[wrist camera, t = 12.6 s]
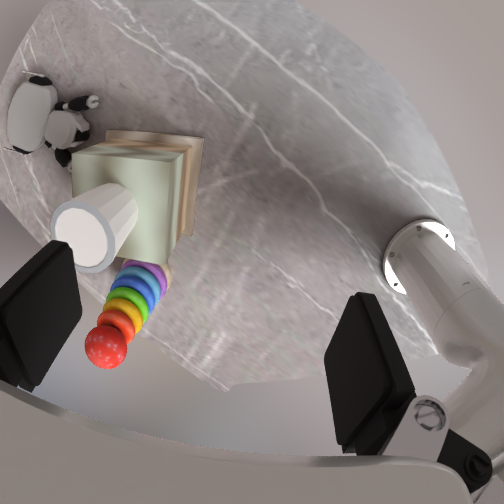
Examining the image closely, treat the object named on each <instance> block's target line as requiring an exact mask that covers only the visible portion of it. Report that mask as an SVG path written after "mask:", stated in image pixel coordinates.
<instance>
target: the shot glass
mask: <svg viewBox="0 0 504 504" xmlns="http://www.w3.org/2000/svg"><path fill="white" fill-rule="evenodd" d="M137 218H138V206H137V204H136V201H135V198H134V196H133V195H132V194H131V193H130V191H129V190H128V189H127V188H125V187H123V186H121V185H120V184H116V183H107V184H104V185H101V186H99V187H96V188H94V189H92V190H90V191H87V192H85V193H83V194H81V195H79V196H77V197H75V198H72V199H70V200H68V201H66V202H64V203H62V204H60V205H59V207H58V208H57V209H56V210H55V212H54V213H53V215H52V219H51V224H50V231H51V238H52V240H58V241H63V242H67V243H68V244H69V247H71V248H72V250H73V256H74V263H75V269H76V270H78V271H81V272H85V273H90V274H92V273H97V272H102V271H103V270H105V269H106V268H107V267H108V266H109V265H110V264H111V263H112V261H113V260H114V258H115V256H116V255H117V253H118V251H119V250H120V248H121V246H122V245H123V243H124V241H125V240H126V238H127V237H128V235H129V233H130V232H131V230H132V229H133V227H134V225H135V223H136V221H137Z"/></svg>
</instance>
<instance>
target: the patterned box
mask: <svg viewBox="0 0 504 504" xmlns="http://www.w3.org/2000/svg"><path fill="white" fill-rule="evenodd" d="M203 143H204V138H200V137H192V136H183V135H174V134H164V133H153V132H140V131H125V130H107V131H106V135H105V141H104V142H101V143H98V144H96V145H93V146H90V147H88V148H85V149H83V150H80V151H78V152H75V153H73V154H72V195H73V198H75V197H77V196H79V195H81V194H83V193H85V192H87V191H90V190H92V189H94V188H96V187H99V186H101V185H104V184H107V183H116V184H120V185H121V186H123V187H125V188H127V189H128V190H129V191H130V193H131V194H132V195H133V196H134V198H135V201H136V204H137V206H138V218H137V221H136V223H135V225H134V227H133V229H132V230H131V232H130V233H129V235H128V237H127V238H126V240H125V241H124V243H123V245H122V246H121V248H120V250H119V251H118V253H117V255H116V256H117V257H122V258H127V259H132V260H138V261H143V262H149V263H154V264H159V265H165V264H166V262H167V260H168V258H169V256H170V254H171V252H172V251H173V249H174V247H175V245H176V243H177V241H178V240H179V238H180V236H181V235H186V236H192V234H193V229H194V219H195V209H196V200H197V191H198V182H199V174H200V166H201V158H202V150H203Z"/></svg>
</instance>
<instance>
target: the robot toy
mask: <svg viewBox="0 0 504 504" xmlns="http://www.w3.org/2000/svg"><path fill="white" fill-rule="evenodd" d="M21 72H23V73H29V74H34V75H38V76H34V77H31V78H30V79H29V80H28V81H25V82H22V84H21V85H20V86H19V87H18V88H17V90H16V92H15V94H14V96H13V98H12V101H11V104H10V106H9V109H8V116H7V137H8V141H9V142H10V144H11V145H13V148H14V149H15V150H16V151H15V150H12V149H8V148H6V147H4V148H3V150H8V151H12V152H15V153H19V154H20V155H24V154H29V153H31V152H33V151H34V150H36V149H39V148H41V147H42V146H43V145H44V144H46V145H47V146H48V148H49V147H52V148H53V149H54V150H55V157H56V160H57V161H58V162H59V163H60V164H61V166H62V167H66V166H67V169H68V171H69V172H71V173H72V154H71V153H70V152H69V150H68V149H66V148H68V147H76V146H78V145H80V144H82V143H83V142H84V141H86V140H87V139H88V138H89V132H88V131H87V130H89V123H88V122H87V121H86V120H85V119H84V118H83V116H82V114H81V113H80V112H78V111H82V110H88V109H89V108H92V109H93V108H96V107H97V106H98V105H99V102H97V103H94V100H99V97H98V96H97V95H91V96H90V97H89V96H83V97H77V98H75V99H73V100H72V101H71V102H70V103H67V104H66V103H65V102H60V103H58V96H57V90H56V89H55V88H54V87H53V86H52V82H51V81H50V80H49V79H48V78H46V77H45V74H37V73H32V72H28V71H25V70H23V71H21ZM69 109H71V110H69Z"/></svg>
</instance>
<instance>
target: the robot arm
mask: <svg viewBox="0 0 504 504" xmlns="http://www.w3.org/2000/svg"><path fill="white" fill-rule="evenodd" d="M383 272H384V275H385V278H386V280H387V282H388V283H389V285H390V286H391V287H392V288H393V289H394V290H396V291H397V292H400V293H403V294H407V295H408V297H409V299H410V301H411V302H412V304H413V306H414V307H415V309H416V311H417V313H418V314H419V316H420V318H421V320H422V322H423V323H424V325H425V327H426V329H427V331H428V332H429V334H430V336H431V338H432V340H433V342H434V344H435V345H436V347H437V349H438V351H439V353H440V354H441V356H442V357H443V358H444V359H445V360H446V361H448V362H449V363H451V364H453V365H455V366H458V367H463V368H468V369H472V371H471V373H470V374H469V375H468V376H467V377H466V378H465V379H464V380H463V381H462V382H461V383H460V384H459V385H458V386H457V387H456V388H455V389H453V390H452V391H451V392H450V393H449V394H447V395H446V396H445V397H444V398H443V399H441V400H440V401H439V400H437V399H436V398H434V397H431V396H426V395H423V396H418V397H417V396H416V393H415V388H414V385H413V382H412V380H411V377H410V375H409V372H408V370H407V367H406V364H405V362H404V360H403V357H402V355H401V352H400V350H399V348H398V345H397V343H396V340H395V338H394V336H393V334H392V331H391V329H390V327H389V324H388V322H387V320H386V318H385V316H384V313H383V311H382V309H381V307H380V305H379V302H378V300H377V298H376V296H375V295H374V294H370V293H363V292H357V293H356V294H355V296H350V298H349V300H348V302H347V305H346V307H345V309H344V312H343V314H342V317H341V319H340V321H339V323H338V326H337V328H336V330H335V333H334V335H333V337H332V339H331V341H330V344H329V346H328V348H327V350H326V352H325V356H324V365H325V370H326V376H327V382H328V388H329V394H330V400H331V407H332V413H333V420H334V426H335V433H336V440H337V443H338V444H339V445H342V451H343V453H356V454H357V456H330V457H329V456H289V455H270V454H258V453H247V452H238V451H230V450H223V449H216V448H209V447H202V446H197V445H191V444H186V443H181V442H176V441H171V440H166V439H161V438H157V437H154V436H149V435H145V434H141V433H137V432H134V431H130V430H126V429H123V428H120V427H116V426H113V425H110V424H107V423H104V422H100V421H97V420H94V419H91V418H89V417H86V416H83V415H80V414H77V413H75V412H72V411H69V410H67V409H64V408H62V407H59V406H57V405H54V404H51V403H49V402H47V401H44V400H42V399H40V398H38V397H35V396H33V395H31V394H29V393H27V392H25V391H22V390H21V389H18V388H16V387H17V386H18V385H19V386H20V387H21V388H23V389H25V390H27V391H29V392H31V393H32V391H33V389H34V388H35V386H38V385H40V383H41V382H42V380H43V378H44V376H45V375H46V373H47V371H48V370H49V368H50V366H51V364H52V363H53V361H54V360H55V358H56V356H57V355H58V353H59V351H60V350H61V348H62V347H63V345H64V343H65V342H66V340H67V339H68V337H69V335H70V334H71V332H72V331H73V329H74V328H75V326H76V325H77V323H78V322H79V320H80V319H81V316H82V305H81V301H80V294H79V289H78V283H77V277H76V270H75V263H74V256H73V250H72V248H71V247H69V244H68V243H67V242H63V241H58V240H52V241H50V242H49V243H48V244H47V245H46V246H44V247H43V248H42V249H41V250H40V251H39V252H38V253H37V254H36V255H34V256H33V258H31V259H30V260H29V261H28V262H27V263H26V264H25V265H24V266H23V267H22V268H21V269H20V270H18V271H17V272H16V273H15V274H14V275H13V276H12V277H11V278H10V279H9V280H8V281H7V282H6V283H5V284H4V285H3V286H2V287H1V288H0V504H504V453H503V454H501V455H500V456H498V457H497V458H496V459H494V460H493V461H491V458H493V457H494V456H496V455H497V454H498V453H500V452H501V451H503V450H504V304H503V302H502V301H501V300H500V299H499V298H498V297H497V295H496V294H495V293H494V292H493V291H492V290H491V289H490V287H489V286H488V285H487V284H486V283H485V282H484V281H483V279H482V278H481V277H480V276H479V275H478V274H477V273H476V272H475V271H474V270H473V269H472V267H471V266H470V265H469V264H468V263H467V262H466V261H465V260H464V259H463V258H462V257H461V256H460V255H459V254H458V253H457V252H456V251H455V244H454V239H453V237H452V235H451V233H450V231H449V230H448V229H447V228H446V227H445V226H444V225H443V224H441V223H439V222H438V221H435V220H431V219H423V220H417V221H415V222H412V223H410V224H408V225H406V226H405V227H403V228H402V229H401V230H400V231H398V232H397V233H396V235H395V236H394V237H393V238H392V239H391V241H390V243H389V244H388V246H387V248H386V251H385V254H384V258H383Z"/></svg>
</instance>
